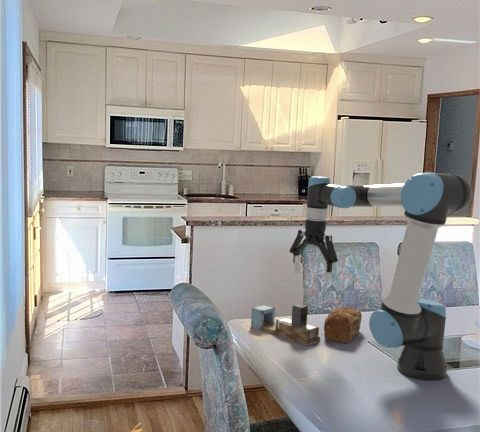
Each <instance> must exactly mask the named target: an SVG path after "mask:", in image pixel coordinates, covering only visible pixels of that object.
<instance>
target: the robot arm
mask: <svg viewBox="0 0 480 432" xmlns="http://www.w3.org/2000/svg"><path fill="white" fill-rule="evenodd" d="M472 189H473V188H472V186H471V184H470V183H469V181H468V180H467V179H466V178H465V177H464V176H462V175H460V174H457V173H445V172H444V173H440V172H430V171H429V172H428V171H427V172H420V173H416V174H414V175H412V176H410V177H408V178H407V180H406V181H404V183H391V184H388V183H387V184H384V183H383V184H367V185H366V184H365V185H359V184H358V185H355V184H353V185H351V184H333V183H331V178H330V177H327V176H320V175H319V176H316V175H315V176H314V175H313V176H310V177H309V180H308V186H307V197H306V198H307V199H306V211H305V218H306V219H305V223H304V229H303V228H302V229H298V230H297V235H296V238H295V239H294V241H293V243H292V245H291V247H290V249H289V253H292V254H293V260H292V261H293V264H294V267H293V273H294V274H299V273H301V263H302V255H301V253H303V251H304V250H305V248H306V247H308V245H313V246H317V247H318V249H319V251H320V252H321V254H322V256H323V258H324V260H325V262H324V267H323V277H322V278H323V280H322V281H323V282H328V281H330V279H331V277H330V276H331V273H332V271H333V264H334V263H338V261H339V259H338V257H337V256H338V255H337V253H336V250H335V246H334V243H333V235H332V234H328V235H326V234H325V232H326V230H327V221H326V220H327V218H328V206H331V207H335V208H338V209H349V208H354V207H360V208H361V207H364V208H365V207H366V208H367V207H369V208H372V207H403V209H404V213H403V215H404V217H405V219H406V221H407V224H406V227H405V231H404V235H403V239H402V242H401V247H400V250H399V251H400V252H399V254H398V258H397V263H396V265H395V266H396V268H395V270H394V274H393V278H392V283H391V287H390V290H389V294H387V295H385V296H384V297H383V298H382V301H381V304H380V309H376V310H375V311H373V312H372V313H371V315H370V317H369V321H368V322H369V323H368V324H369V325H368V327H369V331H370V333H371V335H372V337H373V339H374V340H375V342H376V343H377V344H378V345H380V346H381V347H383V348H387V349H391V348H395V349H396V348H398V349H399V347H403V348H402V350H401V352H400V353H401V354H400V356H399V357H398V359H397V366H396V367H397V370H398V371H399V372H400V373H402V374H404V375H406V376H409V377H412V378H414V379H421V380H427V381H429V380H430V381H435V380H442V379H445V378H446V377H447V370H448V368H447V364H446V363H447V362H446V360H445V355H444V341H445V340H444V339H445V331H446V330H445V329H446V319H447V307H446V306H445V305H444V304H443V303H440V302H437V301H434V300H429V299H425V298H420V297H421V293H422V290H423V285H424V282H425V277H426V274H427V271H428V267H429V262H430V261H431V257H432V256H431V255H432V252H433V248H434V245H435V241H436V238H437V234H438V231H439V230H438V229H439V228H441V227H443V226H445V225H446V222H447V218H448V215H449V214H455V213H458V212H462V211H463V210H464V209H465V208H467V207H468V205H469V204H470V202H471V200H472V199H473V198H472V197H473V190H472ZM304 237H305V238H304Z"/></svg>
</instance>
